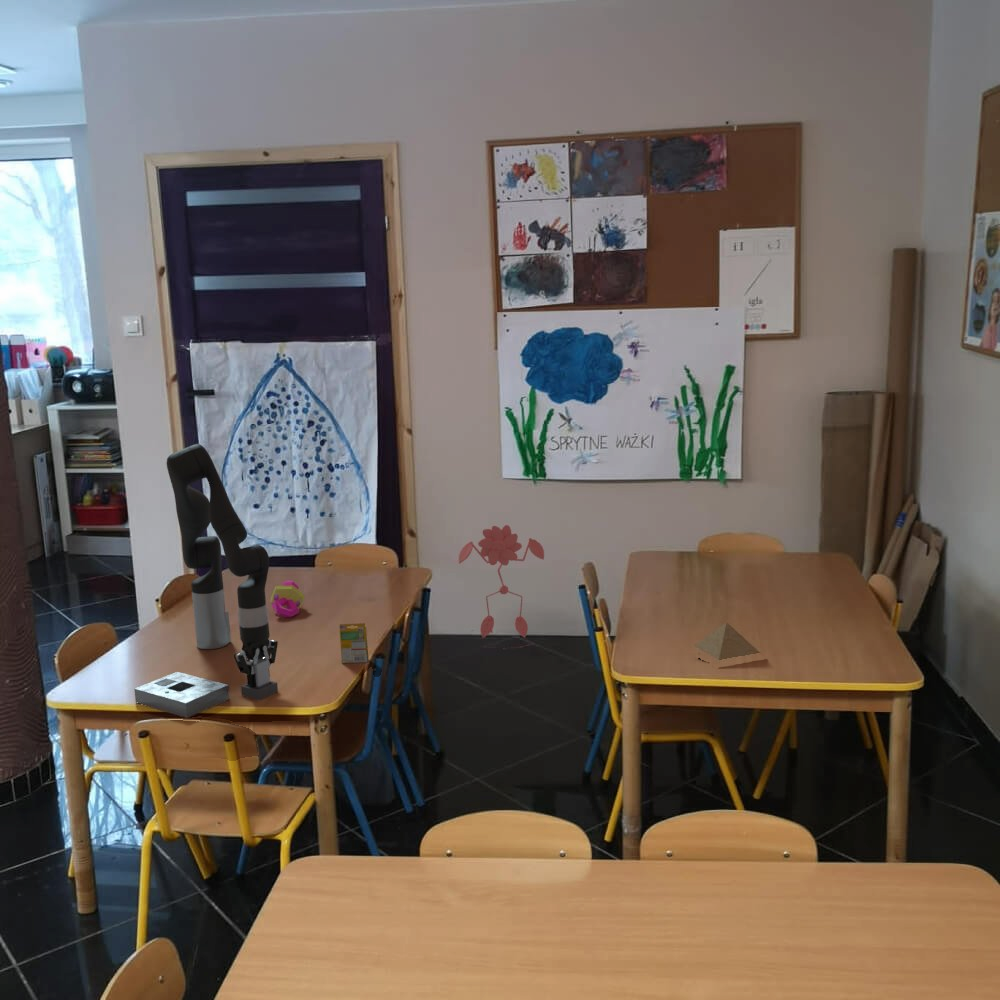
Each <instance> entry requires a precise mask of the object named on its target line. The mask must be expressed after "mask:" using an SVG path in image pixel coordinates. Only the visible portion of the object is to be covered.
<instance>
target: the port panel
mask: <svg viewBox="0 0 1000 1000" xmlns="http://www.w3.org/2000/svg"><path fill="white" fill-rule="evenodd" d="M133 692H134V696H135V697H134V698H135V699H134V700H135V703H136V702H138V703H140V704H139V705H141V704H143V705H142V706H144V705H146V706H145V707H148V706H149V707H148V708H152V709H155V710H158V711H162V712H165V713H169V714H172V715H174V716H179V717H182V718H185V719H188V718H191V717H193V716H195V715H198V714H200V713H201V712H204V711H206V710H208V709H211V708H213V707H215V705H216V706H218V705H220V704H223V703H224V701H225V702H226V700H227V701H229V700H230V691H229V685H228V684H226V683H222V682H218V681H215V680H210V679H206V678H202V677H199V676H195V675H191V674H187V673H184V672H179V671H175V672H174V673H170V674H168V675H165V676H163V677H160V678H158V679H155V680H153V681H152V680H151V682H148V683H145V684H142V685H140V686H138V687H135V688H134V691H133ZM228 699H229V700H228ZM217 704H218V705H217Z"/></svg>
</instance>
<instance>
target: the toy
mask: <svg viewBox="0 0 1000 1000" xmlns="http://www.w3.org/2000/svg"><path fill="white" fill-rule="evenodd" d="M305 597H306V595H305V593H303V592H302V591H300V590H299V586H298V584H297V583H295V581H293V580H287V581H284V582H283V583H282V585H275V587H274V589H273V592H272V594H271V597H270V602H271V603H270V604H271V607H272V609H273V610H274V611H275V612H276V613H275V614H277V615H278V616H281V617H283V618H288V619H289V618H291V617H294V616H295V615H297V614H299V613H300V609H301V607H302V604H303V602H304V600H305Z"/></svg>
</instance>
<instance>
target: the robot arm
mask: <svg viewBox="0 0 1000 1000" xmlns="http://www.w3.org/2000/svg"><path fill="white" fill-rule="evenodd" d="M166 469H167V472H168V476H169V479H170V483H171V486H172V487H171V488H172V490H173V495H174V501H175V510H176V515H177V521H178V525H179V530H180V534H181V546H182V547H181V549H182V558H183V562H184V564H185V566H186V567H187V568H188V569H191V570H196V569H197V570H198V569H206V568H210V570H209V571H208V572H207V573H205V574H203V575H201V576H200V577H197V578H195V579H194V580H192V581H191V585H190V587H191V599H192V606H193V607H192V609H193V618H194V628H195V637H196V638H195V639H196V647H197V648H198V649H201V650H214V649H215V650H216V649H219V648H223V647H226V646H227V645H229V643H230V642H232V638H231V637H232V635H231V625H230V614H229V611H228V610H226V600H225V590H224V589H225V588H224V582H223V581H224V580H223V569H222V550H223V553H224V557H225V560H226V561H225V562H226V565H227V568H228V570H229V571H230V572H231V574H233V576H236V577H239V578H241V577H246V576H247V579H246V580H245V581H244V582H243V581H242V583H240V584H239V585H238V586H237V589H236V591H237V603H238V613H237V614H238V615H237V616H238V626H239V627H238V628H239V638H240V641H241V643H242V646H241V651H239V652H238V653H234V654H233V658H234V660H235V663H236V666H237V668H238V670H239V673H241V674H245V675H246V682H247V683H248V685H249V686H250V687H253V688H254V687H256V676H255V674H254V673H255V665H256V664H257V661H258V659H263V660H268V665H269V668H270V667H271V664H275V663H276V656H277V650H278V644H279V642H278V641H277V640H273V639H270V636H271V635H270V624H269V623H270V622H269V612H268V608H267V599H266V584H267V580H268V573H269V568H270V556H269V554H268V552H267V549H266V548H265V547H263V545H260V544H254V545H251V546H250V545H249V546H246V547H242V548H241V546H240V544H241V543H243V542H244V541H246V539H247V538H248V537H247V536H248V531H247V528H246V527H245V525H244V524H243V522H242V520H241V518H240V516H239V515H238V513H237V512H236V511H235V509H234V507H233V504H232V503H231V501H230V498H229V496H228V493H227V490H226V488H225V486H224V484H223V481H222V479H221V477H220V475H219V472H218V471H217V469H216V466H215V464H214V461H213V460H212V458H211V455H210V454H209V452H208V451H207V449H206V448H205V447H204V446H203V445H202V444H200V443H195V444H192V445H190V446H188V447H185V448H183V449H180V450H177V451H175V452H173V453H171V454H170V455H169V456H168V457H167V459H166ZM203 479H206V480H207V482H208V485H209V490H210V491H209V492H210V493H209V494H210V495H209V498H208V497H207V496H206V494H204V493H203V492H201V491H200V490H197V489H196V488H193V487H192V486H190V485H191V484H194V483H196V482H198V481H201V480H203ZM210 525H211V527H212V529H213V530H214V532H215V534H216V536H215V535H213V536H212V535H209V536H208V535H207V536H201V535H203V533H204V532H205V531H206V530H207V529H208V527H209V526H210ZM200 536H201V537H200ZM221 546H222V547H221ZM250 660H253V662H252V661H250ZM250 665H251V669H250ZM270 673H271V671H269V676H270V675H271V674H270ZM270 677H271V676H270ZM247 683H246V684H247Z"/></svg>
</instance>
